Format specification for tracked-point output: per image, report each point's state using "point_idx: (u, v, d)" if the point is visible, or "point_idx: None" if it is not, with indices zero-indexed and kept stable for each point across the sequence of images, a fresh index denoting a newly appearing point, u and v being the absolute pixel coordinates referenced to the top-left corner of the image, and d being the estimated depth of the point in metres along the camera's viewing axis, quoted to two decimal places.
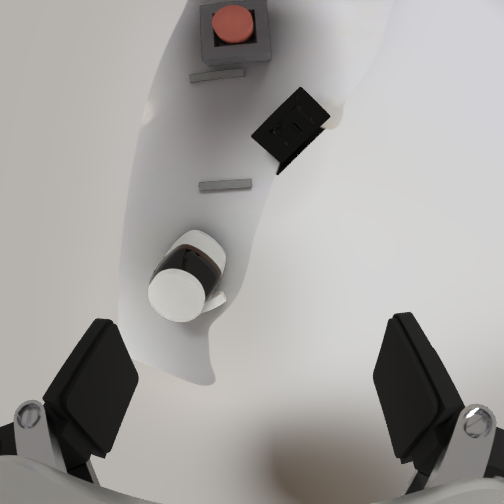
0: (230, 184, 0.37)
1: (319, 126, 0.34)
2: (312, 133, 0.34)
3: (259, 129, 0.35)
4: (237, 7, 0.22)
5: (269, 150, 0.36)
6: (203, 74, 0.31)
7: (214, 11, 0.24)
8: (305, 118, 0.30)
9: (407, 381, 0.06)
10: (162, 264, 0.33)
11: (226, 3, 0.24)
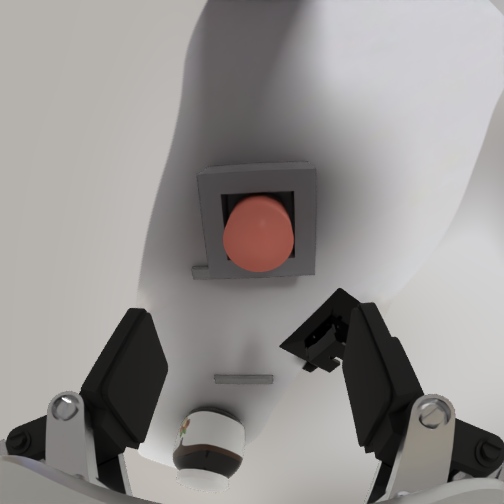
0: (249, 381, 0.32)
1: None
2: None
3: (289, 340, 0.29)
4: (268, 212, 0.17)
5: (301, 356, 0.31)
6: None
7: (224, 190, 0.19)
8: None
9: (366, 368, 0.07)
10: (186, 459, 0.28)
11: (244, 174, 0.19)
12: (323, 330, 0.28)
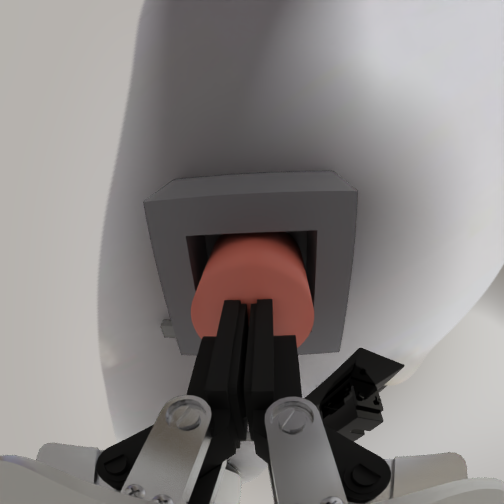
0: None
1: (388, 380, 0.20)
2: (377, 389, 0.21)
3: None
4: (270, 277, 0.09)
5: None
6: None
7: (191, 229, 0.11)
8: (372, 421, 0.17)
9: None
10: None
11: (227, 200, 0.10)
12: (342, 394, 0.20)
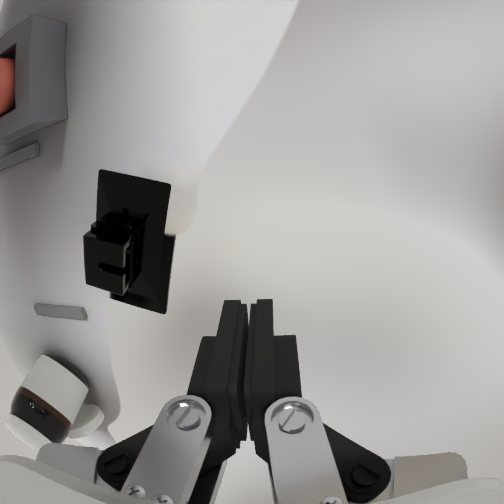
0: (61, 313, 0.22)
1: (165, 214, 0.18)
2: (163, 232, 0.19)
3: None
4: None
5: (129, 289, 0.21)
6: None
7: None
8: (107, 245, 0.15)
9: None
10: (12, 403, 0.19)
11: None
12: None
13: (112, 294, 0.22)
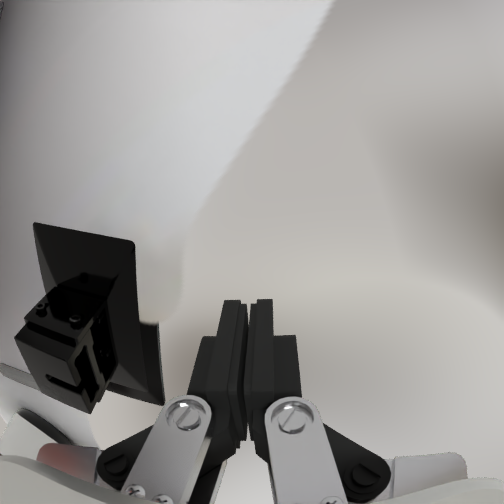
0: (27, 382, 0.15)
1: (134, 289, 0.11)
2: (137, 315, 0.12)
3: None
4: None
5: (110, 379, 0.14)
6: None
7: None
8: (45, 356, 0.08)
9: None
10: None
11: None
12: None
13: None
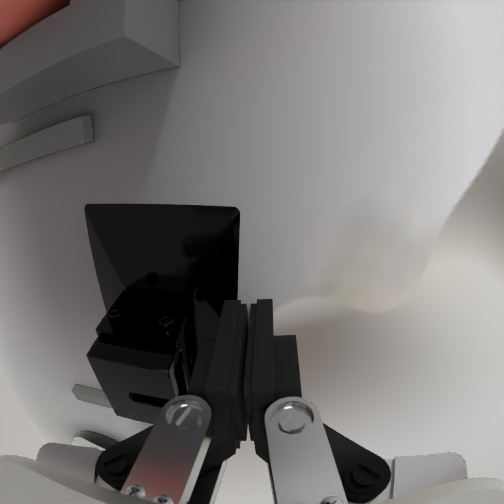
0: None
1: (227, 279, 0.11)
2: None
3: None
4: None
5: None
6: (1, 153, 0.08)
7: None
8: (135, 371, 0.07)
9: None
10: None
11: None
12: None
13: None
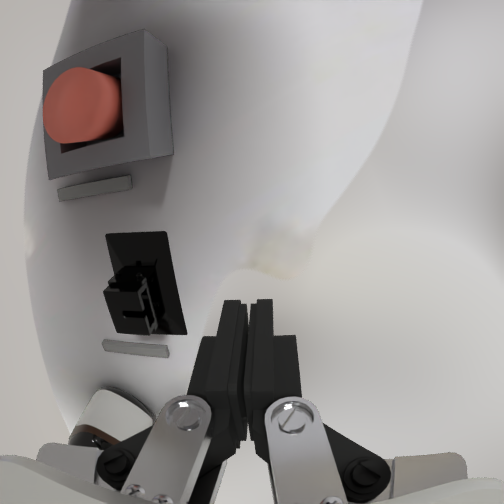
0: (139, 351, 0.24)
1: (170, 256, 0.21)
2: None
3: None
4: (77, 71, 0.11)
5: (161, 331, 0.24)
6: (73, 189, 0.19)
7: None
8: (124, 295, 0.18)
9: None
10: (71, 440, 0.20)
11: (78, 55, 0.12)
12: None
13: None
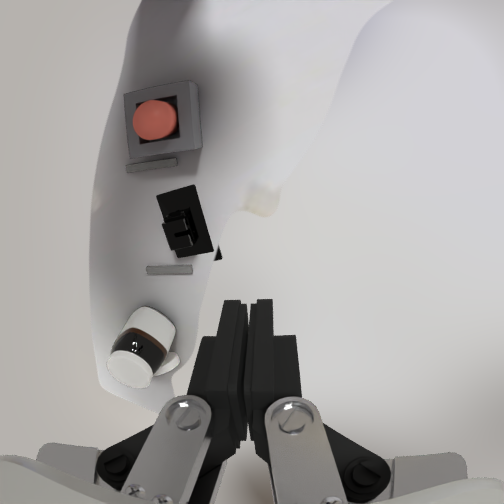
0: (172, 270, 0.40)
1: (198, 201, 0.36)
2: (201, 210, 0.37)
3: (175, 249, 0.39)
4: (155, 102, 0.26)
5: (197, 253, 0.39)
6: (138, 165, 0.34)
7: (137, 100, 0.27)
8: (175, 222, 0.33)
9: None
10: (117, 343, 0.36)
11: (148, 89, 0.27)
12: None
13: None
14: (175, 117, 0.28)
